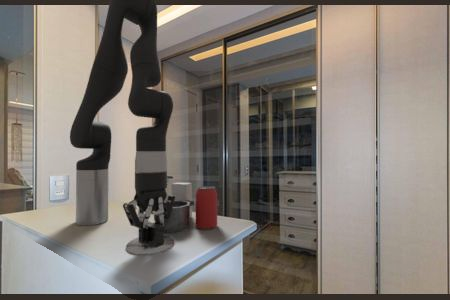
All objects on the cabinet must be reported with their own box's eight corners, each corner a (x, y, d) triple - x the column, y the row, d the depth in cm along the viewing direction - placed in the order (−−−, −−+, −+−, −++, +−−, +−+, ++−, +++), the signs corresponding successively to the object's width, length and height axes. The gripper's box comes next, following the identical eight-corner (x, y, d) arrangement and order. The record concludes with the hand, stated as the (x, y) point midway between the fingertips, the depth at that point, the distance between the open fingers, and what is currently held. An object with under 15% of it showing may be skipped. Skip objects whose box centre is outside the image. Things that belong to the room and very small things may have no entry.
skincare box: (192, 216, 81) (192, 182, 81) (186, 219, 76) (186, 184, 77) (177, 215, 82) (177, 182, 83) (170, 218, 78) (171, 183, 79)
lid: (116, 248, 54) (116, 226, 54) (156, 234, 63) (156, 215, 63) (144, 261, 48) (144, 236, 48) (183, 243, 57) (183, 222, 57)
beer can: (214, 230, 65) (214, 189, 66) (192, 229, 67) (192, 188, 67) (219, 223, 72) (219, 186, 72) (199, 222, 73) (199, 185, 73)
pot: (141, 230, 66) (141, 206, 66) (180, 218, 78) (180, 198, 78) (163, 238, 60) (163, 211, 60) (202, 224, 72) (202, 201, 72)
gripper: (164, 167, 64) (164, 229, 63) (115, 171, 52) (114, 246, 52) (183, 168, 59) (183, 235, 59) (133, 172, 48) (133, 254, 48)
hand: (151, 239), depth 56 cm, fingers open, 3 cm apart
